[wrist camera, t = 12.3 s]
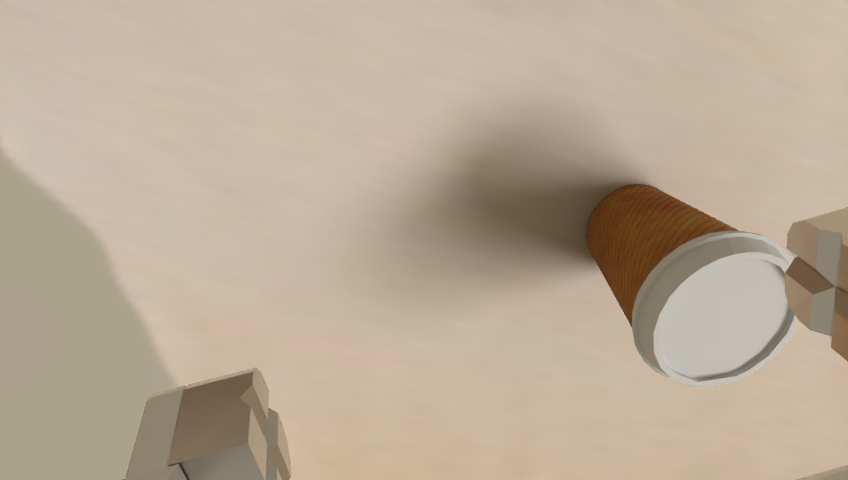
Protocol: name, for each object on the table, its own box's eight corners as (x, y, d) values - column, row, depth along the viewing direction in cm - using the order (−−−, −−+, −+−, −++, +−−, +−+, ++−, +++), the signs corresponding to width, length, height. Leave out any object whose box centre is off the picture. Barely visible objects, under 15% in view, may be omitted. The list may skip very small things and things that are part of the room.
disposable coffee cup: (538, 259, 47) (610, 366, 36) (614, 138, 44) (718, 216, 33) (643, 303, 50) (737, 412, 40) (721, 193, 47) (846, 280, 37)
